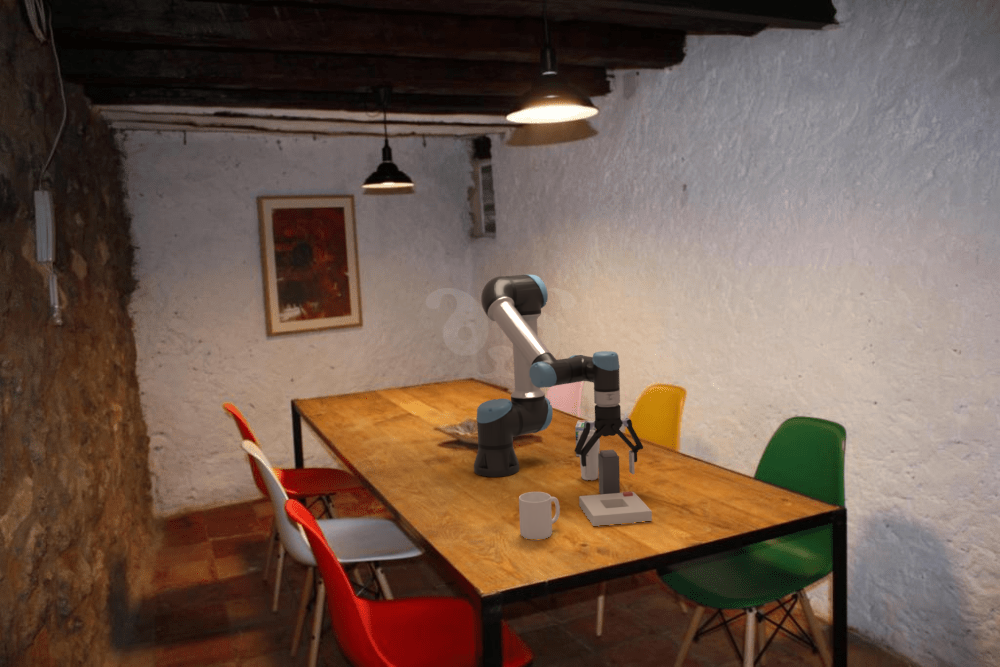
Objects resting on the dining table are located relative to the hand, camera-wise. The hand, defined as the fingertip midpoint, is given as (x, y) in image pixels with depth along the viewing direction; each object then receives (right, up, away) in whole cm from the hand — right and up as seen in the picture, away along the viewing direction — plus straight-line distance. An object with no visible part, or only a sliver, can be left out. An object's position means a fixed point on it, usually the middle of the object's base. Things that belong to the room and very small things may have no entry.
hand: (609, 474), depth 221 cm
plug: (0, -6, +1) cm, 6 cm away
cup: (-22, -10, -27) cm, 36 cm away
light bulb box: (-2, -1, +46) cm, 46 cm away
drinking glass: (-4, -5, +17) cm, 18 cm away
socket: (-1, -8, -15) cm, 17 cm away
